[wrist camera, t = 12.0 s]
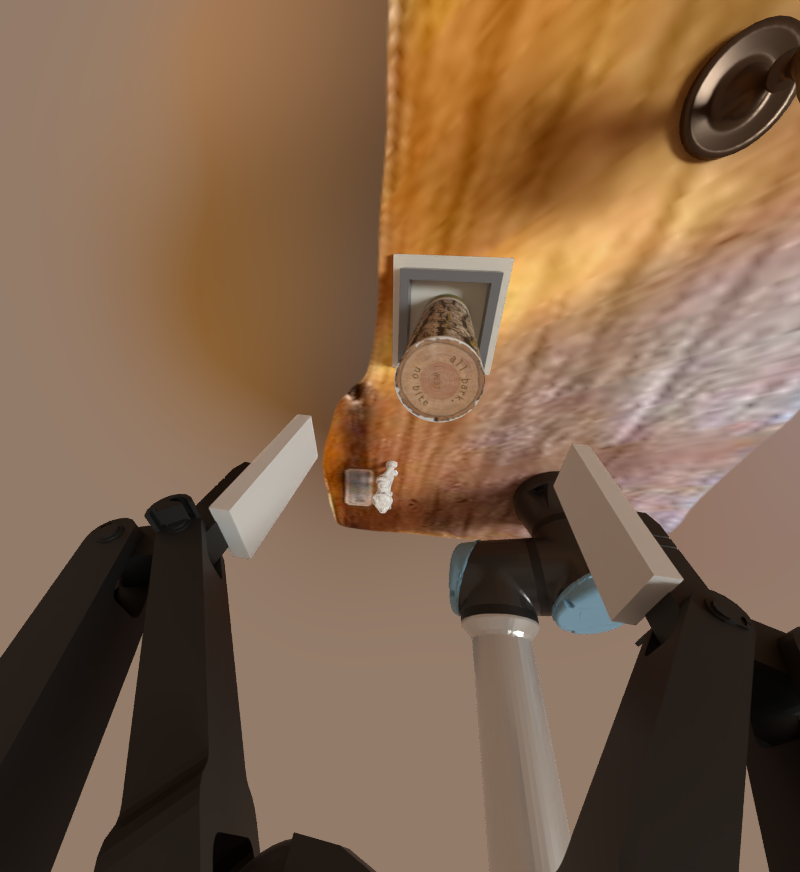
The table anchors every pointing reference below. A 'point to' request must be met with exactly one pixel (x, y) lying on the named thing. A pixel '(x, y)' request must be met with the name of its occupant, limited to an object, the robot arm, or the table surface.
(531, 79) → the table surface
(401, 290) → the collar stand
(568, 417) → the table surface
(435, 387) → the paper tube
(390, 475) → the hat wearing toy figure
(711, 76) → the candlestick
